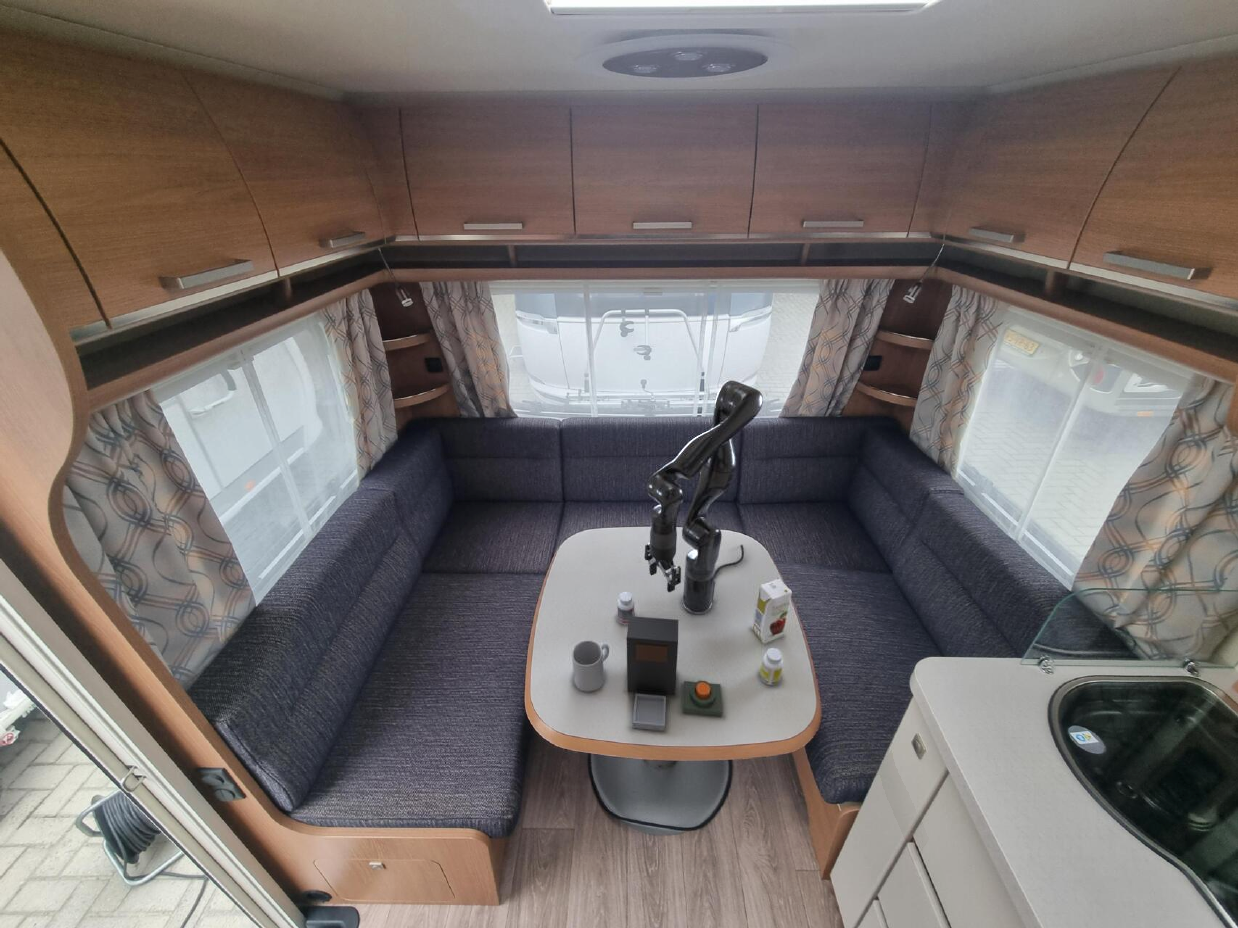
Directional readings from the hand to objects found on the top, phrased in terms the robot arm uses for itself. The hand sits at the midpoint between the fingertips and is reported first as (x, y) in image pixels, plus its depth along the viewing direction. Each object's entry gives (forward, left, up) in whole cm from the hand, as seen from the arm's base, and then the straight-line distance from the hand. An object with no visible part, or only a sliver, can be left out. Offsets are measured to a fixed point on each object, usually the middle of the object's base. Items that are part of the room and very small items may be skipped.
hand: (661, 582), depth 145 cm
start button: (+9, +27, -14) cm, 32 cm away
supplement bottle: (-11, +34, -18) cm, 40 cm away
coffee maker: (+20, +17, -18) cm, 32 cm away
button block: (+9, +27, -18) cm, 33 cm away
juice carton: (-23, +24, -18) cm, 37 cm away
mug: (+27, +2, -18) cm, 33 cm away
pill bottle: (+7, -8, -18) cm, 21 cm away
